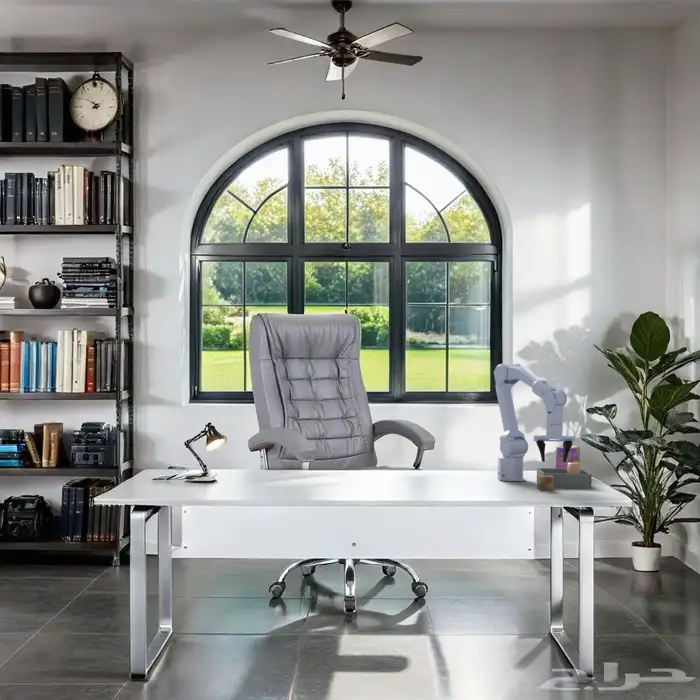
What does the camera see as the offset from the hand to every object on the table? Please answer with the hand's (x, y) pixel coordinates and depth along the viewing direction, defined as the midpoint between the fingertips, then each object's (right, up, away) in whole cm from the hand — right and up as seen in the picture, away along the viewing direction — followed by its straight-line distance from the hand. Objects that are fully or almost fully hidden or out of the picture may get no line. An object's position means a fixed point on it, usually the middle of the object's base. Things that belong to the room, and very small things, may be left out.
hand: (553, 461), depth 326 cm
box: (+12, -10, +28) cm, 31 cm away
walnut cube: (-4, -10, -4) cm, 11 cm away
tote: (+5, -10, +8) cm, 13 cm away
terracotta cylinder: (+10, -9, +10) cm, 17 cm away
